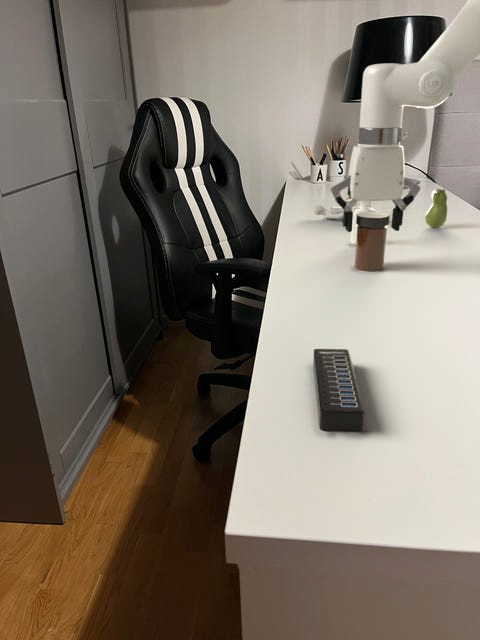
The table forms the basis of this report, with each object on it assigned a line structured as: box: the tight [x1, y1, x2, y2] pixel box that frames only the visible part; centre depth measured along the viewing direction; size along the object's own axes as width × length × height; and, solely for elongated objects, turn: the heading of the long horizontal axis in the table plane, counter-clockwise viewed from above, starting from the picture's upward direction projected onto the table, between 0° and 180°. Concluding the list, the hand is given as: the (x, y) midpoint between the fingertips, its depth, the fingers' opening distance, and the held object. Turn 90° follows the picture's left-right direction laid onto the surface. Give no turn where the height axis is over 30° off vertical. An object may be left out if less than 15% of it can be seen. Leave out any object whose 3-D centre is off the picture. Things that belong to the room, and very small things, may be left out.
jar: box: [353, 225, 388, 272], centre depth 101 cm, size 6×6×10 cm
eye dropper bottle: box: [350, 201, 377, 246], centre depth 118 cm, size 4×6×12 cm
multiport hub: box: [312, 348, 365, 433], centre depth 57 cm, size 4×14×2 cm, turn 175°
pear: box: [424, 188, 448, 228], centre depth 133 cm, size 6×5×10 cm
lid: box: [356, 211, 390, 227], centre depth 99 cm, size 6×6×2 cm
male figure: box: [313, 203, 393, 224], centre depth 145 cm, size 10×4×22 cm
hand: (371, 229), depth 100 cm, fingers open, 8 cm apart
